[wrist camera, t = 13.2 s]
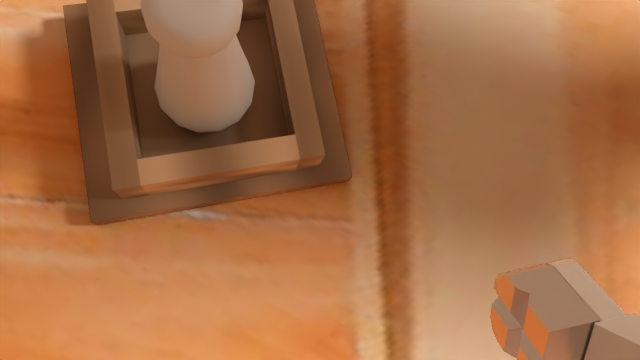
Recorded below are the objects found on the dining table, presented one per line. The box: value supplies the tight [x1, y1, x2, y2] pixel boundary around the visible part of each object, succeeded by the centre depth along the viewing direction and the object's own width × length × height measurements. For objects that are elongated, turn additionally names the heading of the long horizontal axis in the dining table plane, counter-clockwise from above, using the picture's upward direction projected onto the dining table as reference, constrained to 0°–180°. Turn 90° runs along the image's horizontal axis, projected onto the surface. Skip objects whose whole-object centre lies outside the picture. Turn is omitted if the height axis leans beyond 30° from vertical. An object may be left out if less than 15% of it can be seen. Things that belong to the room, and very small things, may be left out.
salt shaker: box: [140, 0, 255, 133], centre depth 30 cm, size 6×6×13 cm
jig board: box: [63, 0, 352, 225], centre depth 35 cm, size 16×14×4 cm
